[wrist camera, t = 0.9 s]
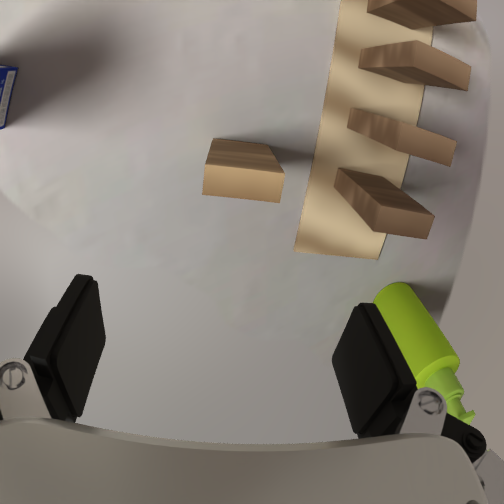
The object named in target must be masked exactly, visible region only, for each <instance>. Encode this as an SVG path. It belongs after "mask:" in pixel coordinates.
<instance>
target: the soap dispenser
mask: <svg viewBox="0 0 504 504" xmlns="http://www.w3.org/2000/svg"><path fill="white" fill-rule="evenodd" d="M373 303H374V304H376V306H377V307H378V309H379V311H380V313H381V315H382V316H383V318H384V320H385V322H386V324H387V326H388V327H389V329H390V331H391V333H392V335H393V337H394V339H395V340H396V342H397V344H398V346H399V348H400V350H401V352H402V354H403V356H404V358H405V360H406V362H407V364H408V366H409V367H410V369H411V371H412V373H413V375H414V377H415V379H416V382H417V384H416V386H417V388H418V389H419V388H423V387H429V388H432V389H435V390H436V391H438V392H439V393H440V394H441V395H442V396H443V397H444V399H445V400H446V403H447V413H449V414H450V415H452V416H454V417H456V418H457V419H459V420H461V421H463V422H465V423H466V424H468V425H470V423H471V421H472V420H473V418H474V416H475V413H474V411H473V410H472V411H470V412H467V413H466V411H465V409H464V407H463V406H462V404H461V402H460V400H461V397H462V396H463V394H464V390H463V388H462V386H461V384H460V382H459V381H458V379H457V377H456V376H455V372H456V371H457V369H458V367H459V364H460V359H459V357H458V356H457V354H456V353H455V351H454V350H453V348H452V346H451V345H450V343H449V342H448V340H447V339H446V338H445V336H444V334H443V333H442V331H441V330H440V328H439V327H438V325H437V324H436V323H435V321H434V320H433V318H432V317H431V315H430V314H429V312H428V311H427V310H426V308H425V307H424V305H423V304H422V303H421V301H420V300H419V298H418V297H417V296H416V294H415V293H414V292H413V290H412V289H411V287H410V286H409V285H407V284H406V283H402V282H398V283H393V284H390V285H388V286H386V287H385V288H383V289H382V290H381V291H380V292H379V293H378V294H377V296H376V297H375V299H374V302H373Z"/></svg>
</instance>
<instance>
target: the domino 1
mask: <svg viewBox="0 0 504 504" xmlns="http://www.w3.org/2000/svg"><path fill="white" fill-rule="evenodd" d="M284 177H285V173H284V171H283V169H282V168H281V166H280V164H279V163H278V161H277V159H276V158H275V156H274V155H273V153H272V151H271V150H270V148H269V146H268V145H265V144H257V143H250V142H241V141H233V140H223V139H214V138H213V140H212V143H211V147H210V150H209V153H208V157H207V160H206V164H205V172H204V182H203V192H202V195H211V196H221V197H231V198H240V199H249V200H258V201H267V202H275V203H280V199H281V193H282V188H283V183H284Z"/></svg>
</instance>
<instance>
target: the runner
mask: <svg viewBox="0 0 504 504" xmlns="http://www.w3.org/2000/svg"><path fill="white" fill-rule="evenodd" d="M367 6H368V0H341V3H340V10H339V17H338V23H337V30H336V36H335V42H334V48H333V54H332V60H331V66H330V72H329V78H328V84H327V89H326V95H325V100H324V106H323V111H322V116H321V122H320V127H319V132H318V137H317V142H316V147H315V152H314V157H313V162H312V167H311V172H310V177H309V182H308V186H307V191H306V196H305V200H304V205H303V210H302V214H301V219H300V223H299V228H298V232H297V237H296V241H295V245H294V252H304V253H315V254H325V255H335V256H345V257H355V258H365V259H375V260H378V257H379V254H380V251H381V248H382V245H383V242H384V240H385V237H386V233H379V232H373V231H372V230H371V228H370V227H369V226H368V225H367V224H366V223H365V221H364V220H363V219H362V218H361V217H360V216H359V215H358V213H357V212H356V211H355V210H354V209H353V208H352V207H351V206H350V204H349V203H348V202H347V201H346V200H345V199H344V198H343V197H342V196H341V194H340V193H339V192H338V191H337V190H336V189H335V188H334V183H335V179H336V174H337V170H338V168H343V169H348V170H353V171H358V172H363V173H368V174H373V175H378V176H382V177H384V178H385V179H387V180H388V181H390V182H391V183H392V184H394V185H395V186H396V187H398V188H399V189H400V188H401V185H402V181H403V177H404V174H405V170H406V166H407V163H408V159H409V155H410V154H406V153H403V152H399V151H396V150H394V149H392V148H390V147H387V146H385V145H383V144H381V143H379V142H377V141H375V140H373V139H371V138H368V137H366V136H364V135H362V134H360V133H357V132H355V131H353V130H350V129H348V128H347V124H348V119H349V114H350V108H353V109H357V110H361V111H365V112H369V113H372V114H376V115H380V116H383V117H387V118H390V119H393V120H397V121H400V122H403V123H406V124H409V125H412V126H415V127H416V125H417V121H418V116H419V111H420V107H421V102H422V96H423V91H424V86H425V85H420V84H410V83H402V82H399V81H397V80H394V79H391V78H388V77H385V76H382V75H379V74H375V73H372V72H369V71H366V70H362V69H359V68H358V65H359V59H360V53H361V49H364V48H369V47H374V46H380V45H386V44H392V43H399V42H405V41H413V40H418V41H421V42H423V43H425V44H427V45H430V46H431V41H432V32H433V26H431V27H425V28H419V29H413V30H411V29H409V28H406V27H404V26H401V25H399V24H396V23H394V22H391V21H389V20H386V19H383V18H381V17H378V16H375V15H372V14H369V13H367Z"/></svg>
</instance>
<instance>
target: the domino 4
mask: <svg viewBox="0 0 504 504" xmlns="http://www.w3.org/2000/svg"><path fill="white" fill-rule="evenodd" d="M347 128H348V129H350V130H353V131H355V132H357V133H360V134H362V135H364V136H366V137H368V138H371V139H373V140H375V141H377V142H379V143H381V144H383V145H385V146H387V147H390V148H392V149H394V150H396V151H399V152H403V153H406V154H410V155H413V156H417V157H420V158H424V159H427V160H430V161H433V162H437V163H440V164H443V165H446V166H449V167H450V166H451V162H452V159H453V155H454V151H455V147H456V143H457V141H454V140H452V139H449V138H447V137H444V136H441V135H438V134H436V133H433V132H430V131H427V130H424V129H421V128H418V127H415V126H412V125H409V124H406V123H403V122H400V121H397V120H393V119H390V118H387V117H383V116H380V115H376V114H372V113H369V112H365V111H361V110H357V109H353V108H350V114H349V119H348V124H347Z"/></svg>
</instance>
